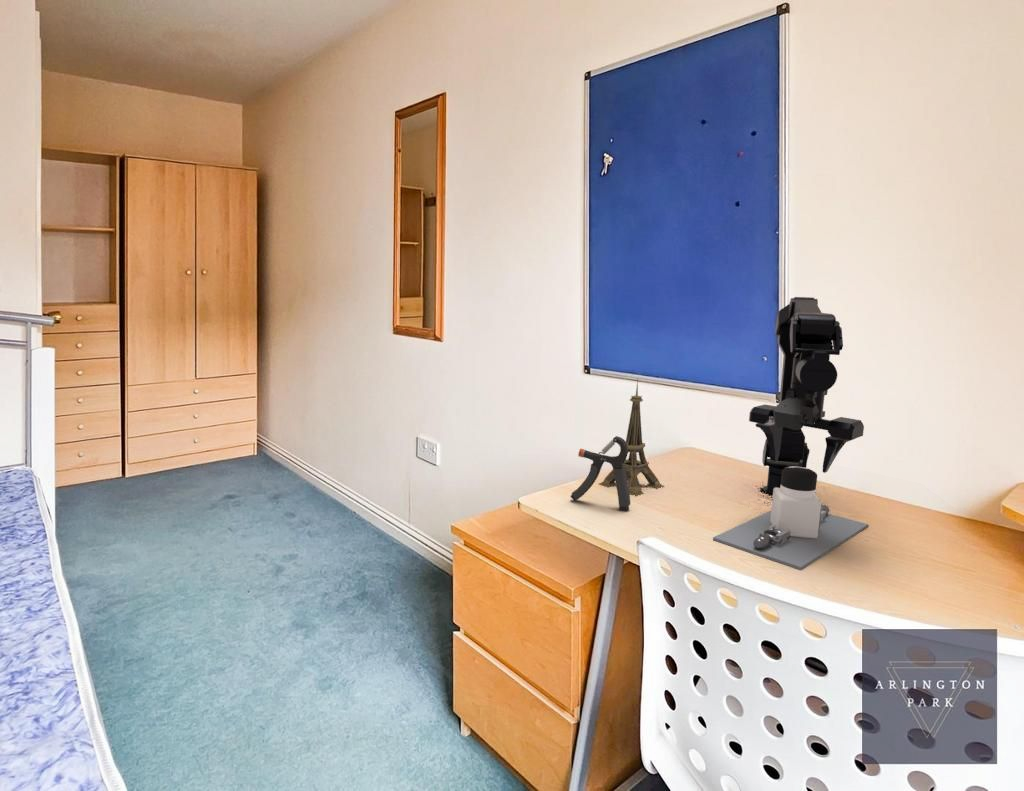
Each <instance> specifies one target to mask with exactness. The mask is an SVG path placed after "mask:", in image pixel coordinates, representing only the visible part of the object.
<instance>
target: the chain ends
mask: <svg viewBox="0 0 1024 791" xmlns="http://www.w3.org/2000/svg"><path fill="white" fill-rule="evenodd" d="M828 513H829V514H830V508H829V506H828V505H826V504H822V508H821V517H820V524H821V523H822V522H824V521H825V518H826V514H828ZM790 531H791V530H788V529H786V530H784V531H780V530H777V529H775V525H770V526H768V527H766V528H764V529H762V530H760V535H759V537H758V538H756V539H755V540H754V542H753V545H754V547H755V548H756V549H758V550H762V549H764V548H766V547H767V546H769V545H771V543H772V542H774V543H775V545H774V546H776V547H779V546H781V545H783V544H785V543H786V542H788V541H790Z"/></svg>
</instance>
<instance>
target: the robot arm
mask: <svg viewBox="0 0 1024 791" xmlns="http://www.w3.org/2000/svg"><path fill="white" fill-rule="evenodd" d="M818 302H819V301H818V298H815V297H812V296H811V297H806V296H804V297H803V296H795V297H793V298H790V300H789V303H788V304H787V305H786V306H784V307H782V308H781V309H780V310H778V312H777V316H776V321H775V330H774V335H775V336H777V341H776V343H777V345H778V347H779V349H780V351H781V352H782V354H783V358H782V359H783V361H782V368H781V369H782V371H781V383H780V393H779V403H778V404H776V405H770V404H761V405H756V406H753V407H752V408H751V409H750V411H749V416H748V422H752V423H755V427H756V428H759V429H760V430H761V431H762V432H763V433H764V435H765V438H766V439H765V440H764V441H765V442H764V446H763V450H762V458H761V460H762V464H763V467H768V472H767V481H766V485H765V486H763V487H760V492H764V493H767V494H771V495H773V489H774V488H775V487H776V488H780V486H781V476H782V470H783V469H784V468H787V467H792V466H796V467H804V468H807V464H808V458H809V455H810V453H811V452H810V451H811V450H810V449H809V447H808V442H806V436H805V433H804V431H803V430H802V429H803V428H804V427H807V428H812V429H819V430H823V431H827V433H828V434H829V435H830V436H828V437H827V436H826V437H824V438H825V443H826V444H825V445H826V448H825V451H824V456H823V457H824V458H823V461H822V462H823V463H822V473H824V474H826V473H827V472H829V470H830V468H831V465H832V464H833V462H834V461H835V460H836V457H837V456H838V454H839V453H840V451H841V450H842V448H843V447H844V445H845V444H846V443H849V442H851V441H853V440H856V439H859V438H860V437H863V436H864V430H865V425H864V423H863V422H862V420H861V419H856V418H849V417H848V418H847V417H843V416H840V417H837V418H833V419H831V420H830V419H825V416H826V411H825V410H824V403H825V396H827V395H828V392H829V389H831V388H832V387H833V386H834V385H835V383H836V382H837V379H838V371H837V368H836V366H835V365H834V364H833V362H831V360H830V356H831V355H832V356H833V355H834V356H840V354H841V351H842V350H843V347H844V344H843V343H844V340H843V328H842V327H841V326H840V322H839V320H837V319H836V316H835V315H834V314H832V313H824V312H822V311H821V309H820V307H819V305H818Z"/></svg>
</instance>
